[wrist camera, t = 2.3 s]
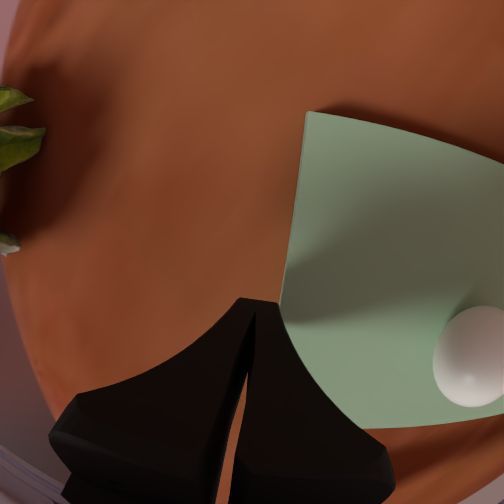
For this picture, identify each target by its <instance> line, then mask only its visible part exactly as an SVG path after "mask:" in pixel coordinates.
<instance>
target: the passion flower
mask: <svg viewBox="0 0 504 504" xmlns="http://www.w3.org/2000/svg"><path fill="white" fill-rule="evenodd" d="M28 102H34V99H32V98H29V97H27V96H26V95H24V94H23V93H22V92H20V91H19V90H17V89H12V88H10V87H9V86H7V85H0V114H1V113H2V112H4V111H6V110H9V109H12V108H15V107H16V106H19V105H22V104H26V103H28ZM45 134H46V129H45V128H36V129H30V128H27V127H22V126H2V127H0V176H1V173H2V172H3V171H5V170H7V169H9V168H10V167H13V166H15V165H17V164H19V163H22V162H25V161H26V160H28V159H30V158H32V157H33V156H34V155H35V154H37V153H38V152H39V150H40V146H41V141H42V137H43V136H45ZM20 249H21V244H20V242H19V240H18V239H17V237H16V236H15V235H14V234H12V233H10V232H7V231H5V230H3V229H1V228H0V254H3V255H5V256H8V253H11V252H16V251H19V250H20Z"/></svg>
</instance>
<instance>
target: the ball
mask: <svg viewBox="0 0 504 504" xmlns="http://www.w3.org/2000/svg"><path fill="white" fill-rule="evenodd" d="M433 373H434V378H435V381H436V383H437V386H438V387H439V389H440V391H441V392H442V393H443V395H444V396H445V397H447V398H448V399H449V400H450V401H452V402H453V403H455V404H457V405H460V406H464V407H480V406H484V405H487V404H489V403H491V402H493V401H495V400H497V399H498V398H499V397H501V396H502V395H503V394H504V311H502V310H501V309H498V308H496V307H492V306H475V307H472V308H469V309H466V310H464V311H462V312H461V313H459V314H457V315H456V316H455V317H454V318H453V319H451V320H450V321H449V323H448V324H447V325H446V326H445V327H444V329H443V330H442V332H441V334H440V336H439V337H438V340H437V342H436V345H435V348H434V353H433Z"/></svg>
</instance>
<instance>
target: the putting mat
mask: <svg viewBox="0 0 504 504" xmlns="http://www.w3.org/2000/svg"><path fill="white" fill-rule="evenodd" d="M475 306H492V307H496V308H498V309H501V310H502V311H504V164H501V163H499V162H497V161H494V160H492V159H489V158H487V157H484V156H481V155H479V154H476V153H474V152H471V151H468V150H465V149H462V148H460V147H457V146H454V145H451V144H448V143H445V142H441V141H438V140H435V139H432V138H428V137H425V136H422V135H418V134H415V133H411V132H407V131H404V130H400V129H396V128H392V127H388V126H384V125H379V124H375V123H371V122H366V121H361V120H357V119H352V118H346V117H341V116H336V115H330V114H324V113H318V112H311V111H308V112H307V113H306V118H305V127H304V135H303V143H302V151H301V159H300V167H299V175H298V182H297V190H296V197H295V204H294V211H293V218H292V225H291V232H290V239H289V245H288V252H287V259H286V265H285V271H284V277H283V284H282V290H281V296H280V302H279V308H280V313H281V316H282V319H283V322H284V325H285V327H286V330H287V332H288V334H289V337H290V339H291V341H292V343H293V345H294V347H295V349H296V351H297V353H298V355H299V356H300V358H301V360H302V362H303V363H304V365H305V366H306V368H307V370H308V371H309V373H310V374H311V375H312V377H313V378H314V380H315V381H316V382H317V384H318V385H319V386H320V388H321V389H322V390H323V391H324V393H325V394H326V395H327V396H328V397H329V398H330V399H331V400H332V401H333V403H334V404H335V405H336V406H337V407H338V408H339V409H340V410H341V411H342V412H343V413H344V414H345V415H346V416H347V417H348V418H349V419H351V420H352V421H353V422H354V423H355V424H356V425H357V426H358V427H360V428H397V427H413V426H425V425H435V424H444V423H452V422H459V421H466V420H472V419H478V418H483V417H489V416H494V415H498V414H503V413H504V394H503V395H502V396H501V397H499V398H498V399H497V400H495V401H493V402H491V403H489V404H487V405H484V406H480V407H464V406H460V405H457V404H455V403H453V402H452V401H450V400H449V399H448V398H447V397H445V396H444V395H443V393H442V392H441V391H440V389H439V387H438V386H437V383H436V381H435V378H434V373H433V353H434V348H435V345H436V342H437V340H438V337H439V336H440V334H441V332H442V330H443V329H444V327H445V326H446V325H447V324H448V323H449V321H450V320H451V319H453V318H454V317H455V316H456V315H457V314H459V313H461V312H462V311H464V310H466V309H469V308H472V307H475Z"/></svg>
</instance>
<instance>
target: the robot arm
mask: <svg viewBox="0 0 504 504" xmlns="http://www.w3.org/2000/svg"><path fill="white" fill-rule="evenodd" d="M247 373H248V378H247V393H246V404H245V409H244V414H243V419H242V424H241V429H240V433H239V438H238V443H237V447H236V452H235V457H234V465H233V472H232V480H231V488H230V495H229V501H228V504H381V503H382V502H384V501H385V500H386V499H387V498H388V497H389V496H390V495H391V494H392V492H393V491H394V490H395V485H396V484H395V478H394V472H393V468H392V465H391V461H390V458H389V455H388V453H387V450H386V447H385V446H384V445H383V444H381V443H380V442H378V441H377V440H376V439H374V438H373V437H372V436H370V435H369V434H368V433H366V432H365V431H364V430H362V429H361V428H360V427H358V426H357V425H356V424H355V423H354V422H353V421H352V420H351V419H349V418H348V417H347V416H346V415H345V414H344V413H343V412H342V411H341V410H340V409H339V408H338V407H337V406H336V405H335V404H334V403H333V401H332V400H331V399H330V398H329V397H328V396H327V395H326V394H325V393H324V391H323V390H322V389H321V388H320V386H319V385H318V384H317V382H316V381H315V380H314V378H313V377H312V375H311V374H310V373H309V371H308V370H307V368H306V366H305V365H304V363H303V362H302V360H301V358H300V356H299V355H298V353H297V351H296V349H295V347H294V345H293V343H292V341H291V339H290V337H289V334H288V332H287V330H286V327H285V325H284V322H283V319H282V316H281V313H280V308H279V305H278V304H277V303H276V302H269V301H261V300H254V299H248V298H241V297H240V298H239V299H237V300H236V301H235V303H234V304H233V305H232V306H231V308H230V309H229V310H228V311H227V312H226V313H225V314H224V315H223V316H222V317H221V318H220V319H219V320H218V321H217V322H216V323H215V324H214V325H213V326H212V327H211V328H210V329H209V330H208V331H207V332H206V333H204V334H203V335H202V336H201V337H200V338H198V339H197V340H196V341H195V342H193V343H192V344H191V345H189V346H188V347H187V348H185V349H184V350H183V351H181V352H180V353H178V354H177V355H175V356H173V357H172V358H170V359H169V360H167V361H165V362H163V363H161V364H160V365H158V366H156V367H154V368H152V369H150V370H148V371H146V372H144V373H142V374H140V375H137V376H135V377H132V378H130V379H127V380H124V381H122V382H119V383H116V384H113V385H110V386H107V387H103V388H99V389H96V390H92V391H88V392H84V393H79V394H77V395H76V396H75V397H74V398H73V400H72V401H71V402H70V403H69V404H68V406H67V407H66V408H65V410H64V411H63V413H62V414H61V416H60V417H59V419H58V420H57V422H56V423H55V425H54V427H53V428H52V430H51V431H50V433H49V434H48V436H49V442H50V445H51V446H52V448H53V449H54V451H55V452H56V454H57V455H58V456H59V458H60V459H61V460H62V462H63V463H64V464H65V465H66V466H67V468H68V469H69V470H70V472H71V473H72V474H71V475H70V477H69V479H68V481H67V483H66V485H63V484H61V483H60V482H58V481H56V480H54V479H52V478H51V477H49V476H47V475H45V474H44V473H42V472H40V471H39V470H37V469H35V468H34V467H32V466H31V465H29V464H28V463H26V462H25V461H23V460H22V459H20V458H19V457H17V456H16V455H14V454H12V453H11V452H10V451H8V450H7V449H6V448H4V447H3V446H2V445H0V504H215V502H216V497H217V492H218V487H219V482H220V477H221V472H222V467H223V462H224V457H225V452H226V447H227V442H228V437H229V432H230V429H231V425H232V421H233V418H234V415H235V412H236V409H237V405H238V402H239V399H240V396H241V392H242V389H243V386H244V383H245V379H246V376H247ZM498 504H504V500H502V501H501V502H499V503H498Z"/></svg>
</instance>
